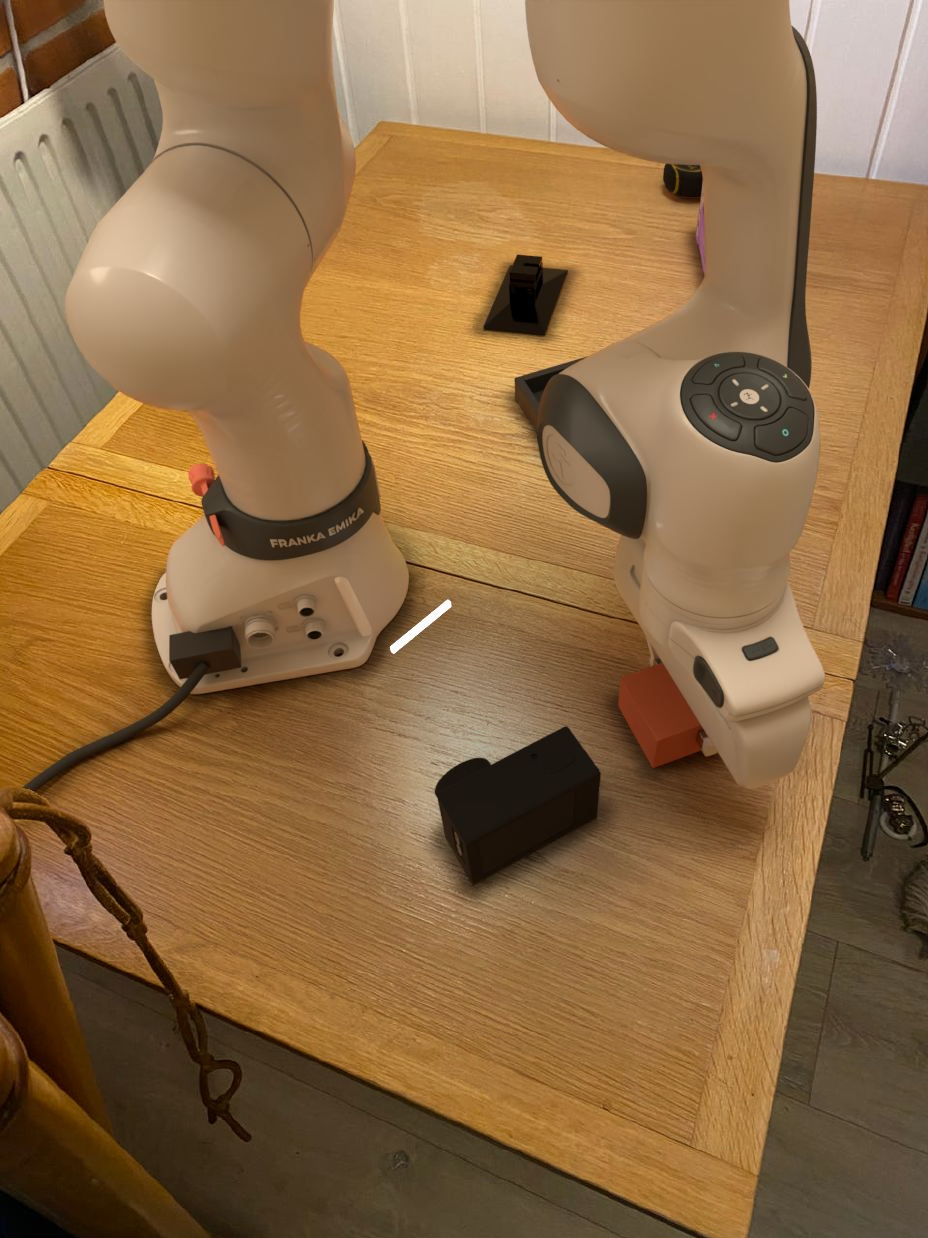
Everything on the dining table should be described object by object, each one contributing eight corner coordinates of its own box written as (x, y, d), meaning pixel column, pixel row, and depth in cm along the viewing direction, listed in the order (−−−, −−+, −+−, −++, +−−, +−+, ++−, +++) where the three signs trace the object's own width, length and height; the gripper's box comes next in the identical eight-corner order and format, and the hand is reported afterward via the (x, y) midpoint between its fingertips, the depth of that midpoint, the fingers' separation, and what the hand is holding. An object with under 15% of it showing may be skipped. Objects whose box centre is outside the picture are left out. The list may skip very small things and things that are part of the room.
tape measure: (727, 196, 119) (731, 167, 116) (676, 209, 118) (679, 179, 115) (702, 171, 123) (705, 142, 120) (652, 183, 122) (655, 153, 119)
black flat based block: (544, 337, 104) (544, 300, 100) (480, 330, 106) (477, 294, 102) (568, 272, 111) (568, 235, 107) (507, 266, 113) (506, 230, 109)
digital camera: (558, 760, 72) (559, 710, 67) (598, 817, 69) (602, 770, 64) (436, 824, 70) (427, 778, 64) (472, 886, 67) (465, 843, 61)
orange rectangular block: (652, 768, 71) (657, 741, 68) (617, 705, 75) (620, 677, 72) (748, 733, 72) (757, 704, 69) (709, 672, 76) (716, 643, 73)
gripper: (596, 500, 67) (590, 620, 78) (747, 733, 55) (715, 837, 66) (677, 474, 68) (660, 596, 79) (843, 697, 56) (796, 805, 67)
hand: (686, 707), depth 72 cm, fingers closed on orange rectangular block, 6 cm apart
